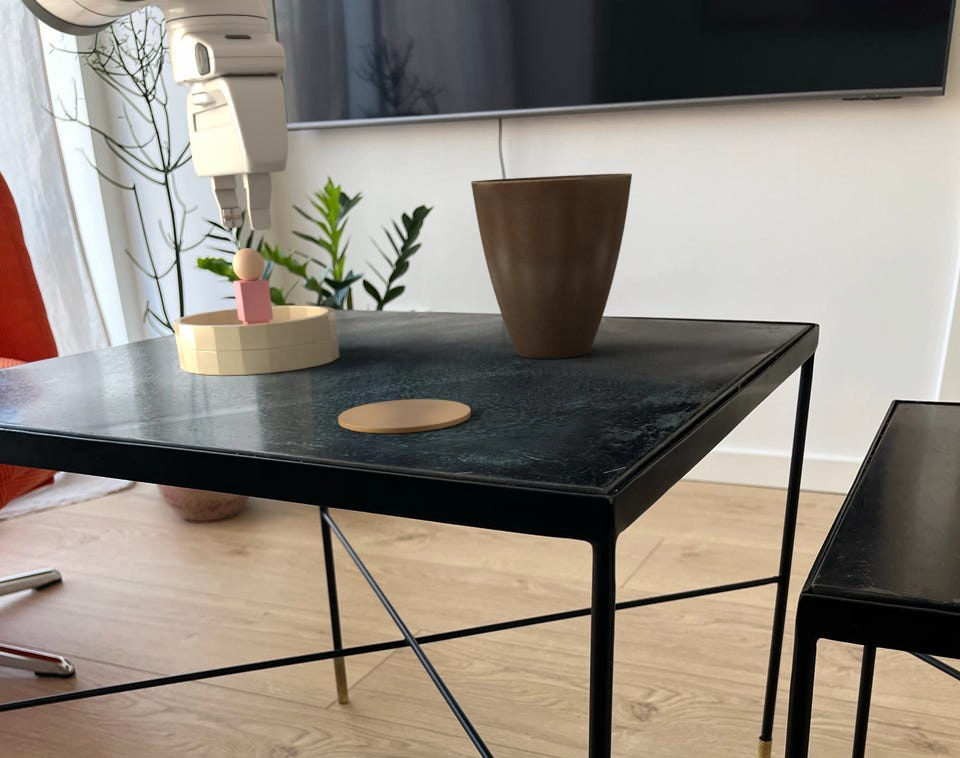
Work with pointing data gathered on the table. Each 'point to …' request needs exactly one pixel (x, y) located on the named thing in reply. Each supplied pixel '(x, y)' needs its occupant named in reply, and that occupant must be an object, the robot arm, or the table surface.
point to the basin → (257, 341)
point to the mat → (404, 416)
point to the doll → (251, 288)
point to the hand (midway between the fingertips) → (246, 228)
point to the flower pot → (552, 256)
